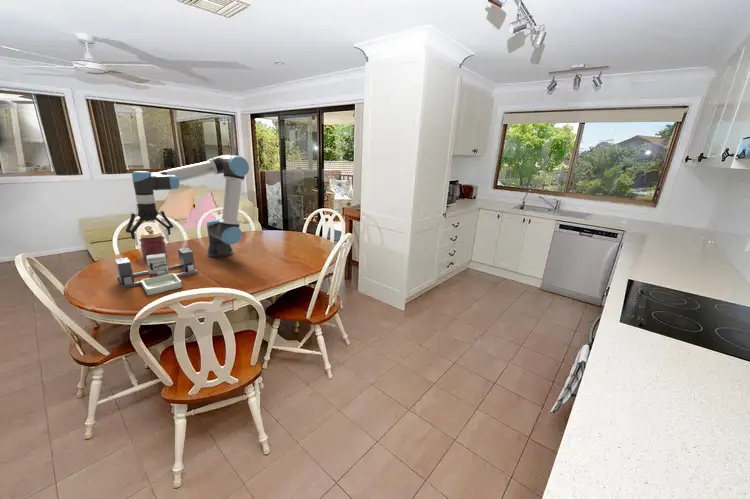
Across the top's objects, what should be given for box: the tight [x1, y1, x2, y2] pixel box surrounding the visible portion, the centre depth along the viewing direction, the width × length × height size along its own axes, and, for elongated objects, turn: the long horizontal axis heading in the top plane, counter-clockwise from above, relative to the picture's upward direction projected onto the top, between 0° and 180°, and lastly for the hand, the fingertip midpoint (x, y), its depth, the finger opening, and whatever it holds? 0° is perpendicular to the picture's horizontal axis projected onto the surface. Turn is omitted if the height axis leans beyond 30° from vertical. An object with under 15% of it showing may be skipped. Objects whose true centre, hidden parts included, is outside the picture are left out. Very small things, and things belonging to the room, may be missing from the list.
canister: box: [138, 229, 168, 260], centre depth 193 cm, size 13×13×18 cm
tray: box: [140, 272, 183, 296], centre depth 156 cm, size 15×15×3 cm
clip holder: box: [114, 247, 199, 290], centre depth 166 cm, size 34×15×12 cm, turn 135°
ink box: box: [145, 253, 170, 278], centre depth 167 cm, size 8×5×12 cm, turn 123°
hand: (152, 242), depth 162 cm, fingers open, 13 cm apart
